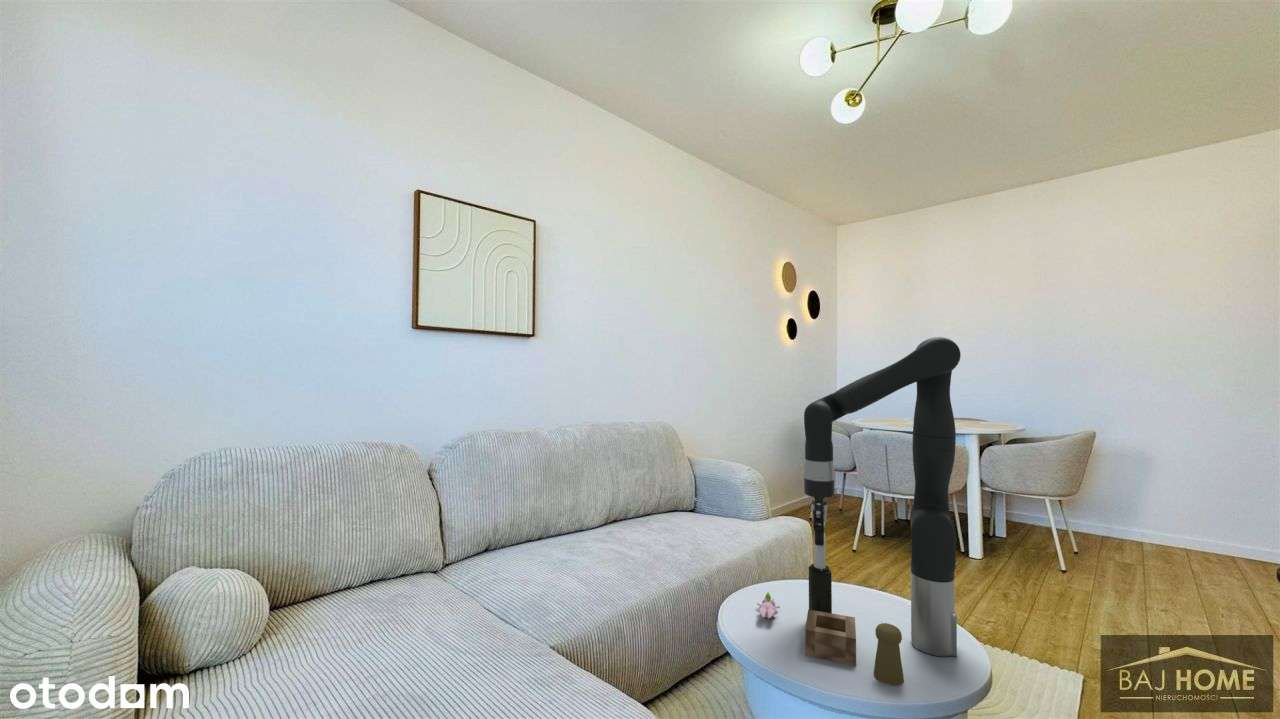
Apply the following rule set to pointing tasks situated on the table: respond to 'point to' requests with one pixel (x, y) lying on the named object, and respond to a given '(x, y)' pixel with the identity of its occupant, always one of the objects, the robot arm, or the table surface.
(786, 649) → the table surface
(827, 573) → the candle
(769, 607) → the pink rainbow-tailed figurine
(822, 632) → the box
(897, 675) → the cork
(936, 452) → the robot arm
